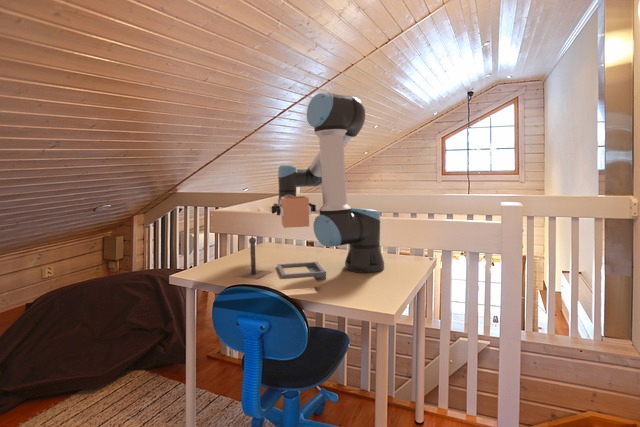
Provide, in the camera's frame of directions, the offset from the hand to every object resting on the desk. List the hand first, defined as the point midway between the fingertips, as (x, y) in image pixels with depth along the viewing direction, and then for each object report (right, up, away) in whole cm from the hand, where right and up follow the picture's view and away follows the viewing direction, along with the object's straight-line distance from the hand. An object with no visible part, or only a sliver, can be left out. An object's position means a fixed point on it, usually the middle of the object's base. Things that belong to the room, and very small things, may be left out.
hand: (296, 211), depth 138 cm
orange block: (-1, -5, +5) cm, 7 cm away
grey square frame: (+1, -23, +7) cm, 24 cm away
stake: (-15, -24, +3) cm, 28 cm away
